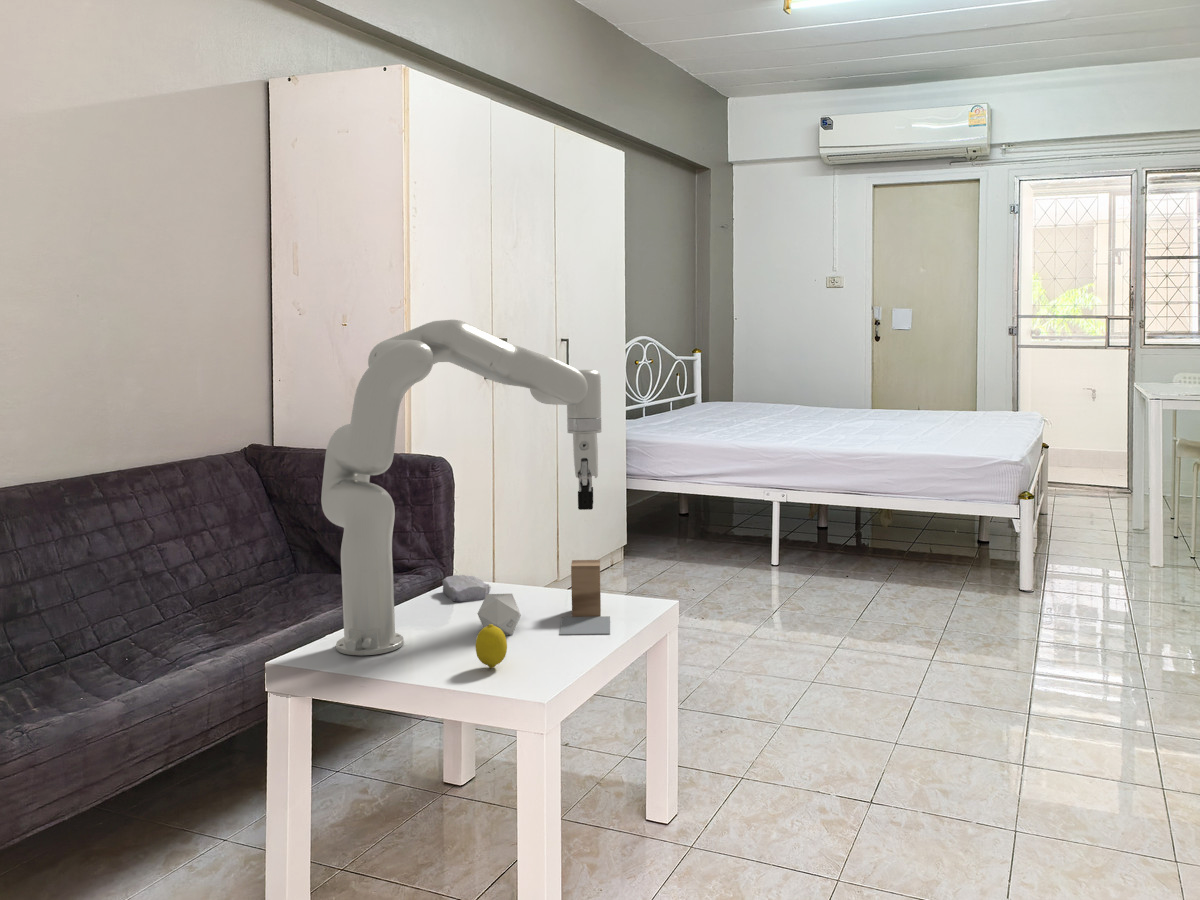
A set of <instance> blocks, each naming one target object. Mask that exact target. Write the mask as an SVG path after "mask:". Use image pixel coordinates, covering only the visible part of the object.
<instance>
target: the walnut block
mask: <svg viewBox="0 0 1200 900" xmlns="http://www.w3.org/2000/svg"><path fill="white" fill-rule="evenodd" d="M570 571H571V572H570V575H571V576H570V578H571V617H595V616H601V611H602V608H601V607H602V605H601V602H602V601H601V560H600V559H574V560H573V559H572V560H571V565H570Z"/></svg>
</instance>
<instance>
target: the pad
mask: <svg viewBox="0 0 1200 900" xmlns="http://www.w3.org/2000/svg"><path fill="white" fill-rule="evenodd" d="M560 623H561V624H560V629H559V636H581V635H582V636H583V635H587V636H588V635H592V636H593V635H594V636H595V635H599V636H600V635H611V616H608V615H607V616H606V615H605V616H595V617H572V616H562V618H561V622H560Z"/></svg>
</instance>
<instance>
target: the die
mask: <svg viewBox="0 0 1200 900" xmlns="http://www.w3.org/2000/svg"><path fill="white" fill-rule="evenodd" d="M479 607H480V608H479V610H478V612H477V615H478V619H479V621H480V623H481V626H482V627H483V628H484V627H487V626H488V625H489V624H493V625H494V626H496V627H498V628H500V629H501V630H502V631H503V633H504V634H505V636H513V634H514V631H515V629H516V627H517V625H518V623H519V621H520V618H521V616H522V615H521V612H520V610H519V609H520V608H519V607H518V604H517V602H516V600H515V597H514V594H513V593H489V594H487V595H486V597H485V599H483V600H482V603H481V605H480V606H479ZM483 628H482V629H483Z"/></svg>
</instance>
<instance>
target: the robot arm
mask: <svg viewBox="0 0 1200 900" xmlns="http://www.w3.org/2000/svg"><path fill="white" fill-rule="evenodd" d="M367 359H368V360H367V362H368V363H367V366H368V368H367V369H366V371H365V372H364V373H363V375H362V376H361V378H360V380H359V381H358V384H357V387H356V389H355V394H354V397H353V404H352V410H351V411H352V412H351V417H350V423H348V424H344V425H342V426H340V427H338V429H336V430H335V431H334V432H333V433H332V435H331V436H330V438H329V440H328V443H327V445H326V446H327V447H326V450H325V456H324V457H325V458H324V464H323V465H324V466H323V467H324V468H323V475H322V476H323V477H322V486H321V497H320V498H321V501H320V502H321V503H320V504H321V508H322V512H323V514H324V516H325V517H326V519H328V521H329V522H330V523H332V524H333V525H335V526H338V527H341V528H343V535H342V539H341V540H342V541H341V547H340V569H341V589H342V590H341V591H342V592H341V593H342V615H343V635H344V636H343V637H342V638H339V639H338V640H337V641H336V644H335V646H336V650H337V651H338V652H339V653H341V654H343V655H349V656H374V655H380V654H386V653H389V652H393V651H396V650H398V649H399V648H401V647H403V645H404V643H405V642H404V641H405V640H404V636H403V635H402V634H400V633H397V632H396V622H395V621H396V620H395V597H394V596H395V595H394V593H395V592H394V589H395V588H394V564H393V533H394V525H395V520H396V519H395V518H396V516H395V515H396V511H395V510H396V509H395V503H394V500H393V498H392V496H391V494H389V492H388V491H387V490H386V489H384V488H383V486H380V485H379V484H376V483H372V482H370V478H371V476H379V475H381V474H384V473H386V472H387V471H388V469H390V467H391V465H392V463H393V462H394V461H393V460H394V454H395V447H396V446H395V445H396V438H397V437H396V436H397V428H398V427H397V426H398V416H399V411H400V406H401V403H402V401H403V398H404V396H405V395H406V393H407V392H408V390H410V388H411V387H412V386H414V385H415V384H416V383H420V382H421V381H423V380H424V379H425V378H427V377H428V375H429V374H430V373H431V371H432V369H433V365H436V364H437V363H450V364H454V365H456V366H458V367H461V368H462V369H464V370H467V371H470V372H471V373H474V374H476V375H479V376H481V377H483V378H485V379H487V380H490V381H492V382H494V383H499V384H502V385H506V386H513V387H520V388H526V389H529V391H530V394H531V396H532V397H533V399H534V400H535V401H537V402H539V403H541V404H545V405H553V406H555V405H556V406H557V405H560V406H566V414H567V415H566V422H567V425H566V426H567V434H572V444H573V445H572V447H573V450H572V451H573V466H574V473H575V474H574V475H575V477H576V478H577V479H578V491H577V508H578V510H579V511H580V510H581V511H585V510H586V511H587V510H589V511H590V510H591V511H592V510H593V508H594V487H593V478H592V477H594V479H597V478H598V477H599V455H598V454H599V452H598V451H599V449H598V445H599V444H598V434H599V433H602V391H601V389H602V386H601V385H602V384H601V382H602V380H601V374H600V372H599V371H598V370H595V369H576V368H575V367H573V366H571V365H568V364H566V363H564V362H562V361H560V360H557V359H555V358H553V357H551V356H547V355H545V354H541V353H538V352H535V351H532V350H530V349H527V348H524V347H521V346H518V345H515V344H512V343H511V342H508V341H506V340H503V339H501V338H499V337H497V336H495V335H492V334H490V333H488V332H486V331H484V330H483V329H480V328H478V327H476V326H473V325H472V324H470V323H468V322H465V321H463V320H458V319H443V320H442V319H441V320H434V321H430V322H426V323H425V324H422V325H420V326H417V327H415V328H412V329H410V330H408V331H405V332H402V333H400V334H397V335H395V336H392V337H390V338H387V339H385V340H382V341H380V342H379V343H377V344H376V345H375V346H373V348H372V349H371V351H370V352H369V355H368V358H367Z"/></svg>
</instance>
